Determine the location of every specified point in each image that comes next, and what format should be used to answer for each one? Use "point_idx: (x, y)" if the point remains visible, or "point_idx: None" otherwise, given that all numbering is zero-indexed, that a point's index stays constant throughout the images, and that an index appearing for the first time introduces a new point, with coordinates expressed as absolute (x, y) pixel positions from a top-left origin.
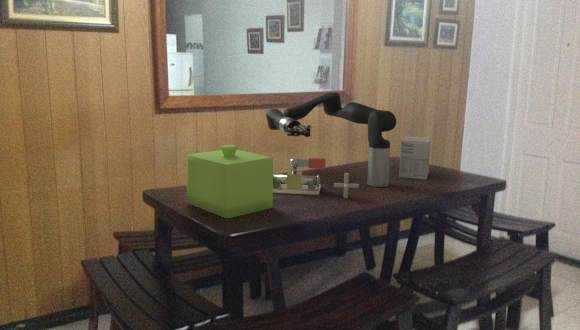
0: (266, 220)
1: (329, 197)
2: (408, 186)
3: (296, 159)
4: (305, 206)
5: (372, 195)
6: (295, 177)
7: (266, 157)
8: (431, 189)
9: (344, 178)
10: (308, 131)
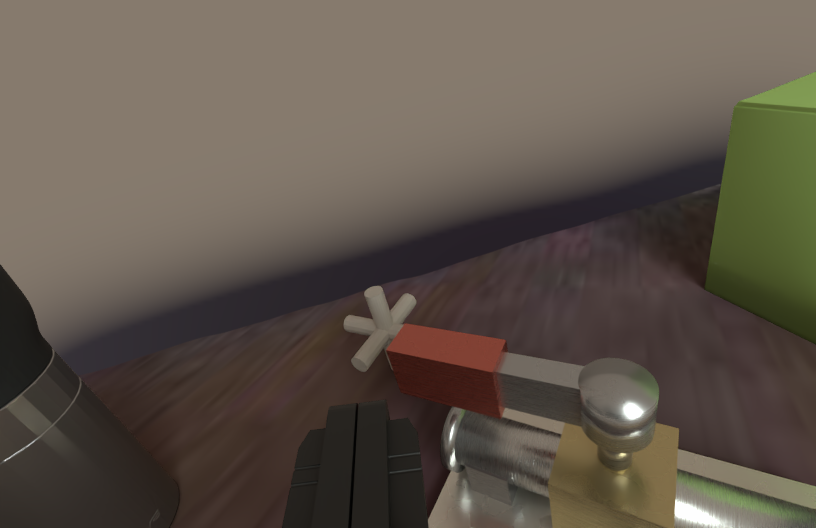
0: (702, 219)
1: None
2: None
3: (600, 371)
4: (576, 296)
5: (296, 376)
6: None
7: (772, 96)
8: None
9: (387, 305)
10: (328, 433)
